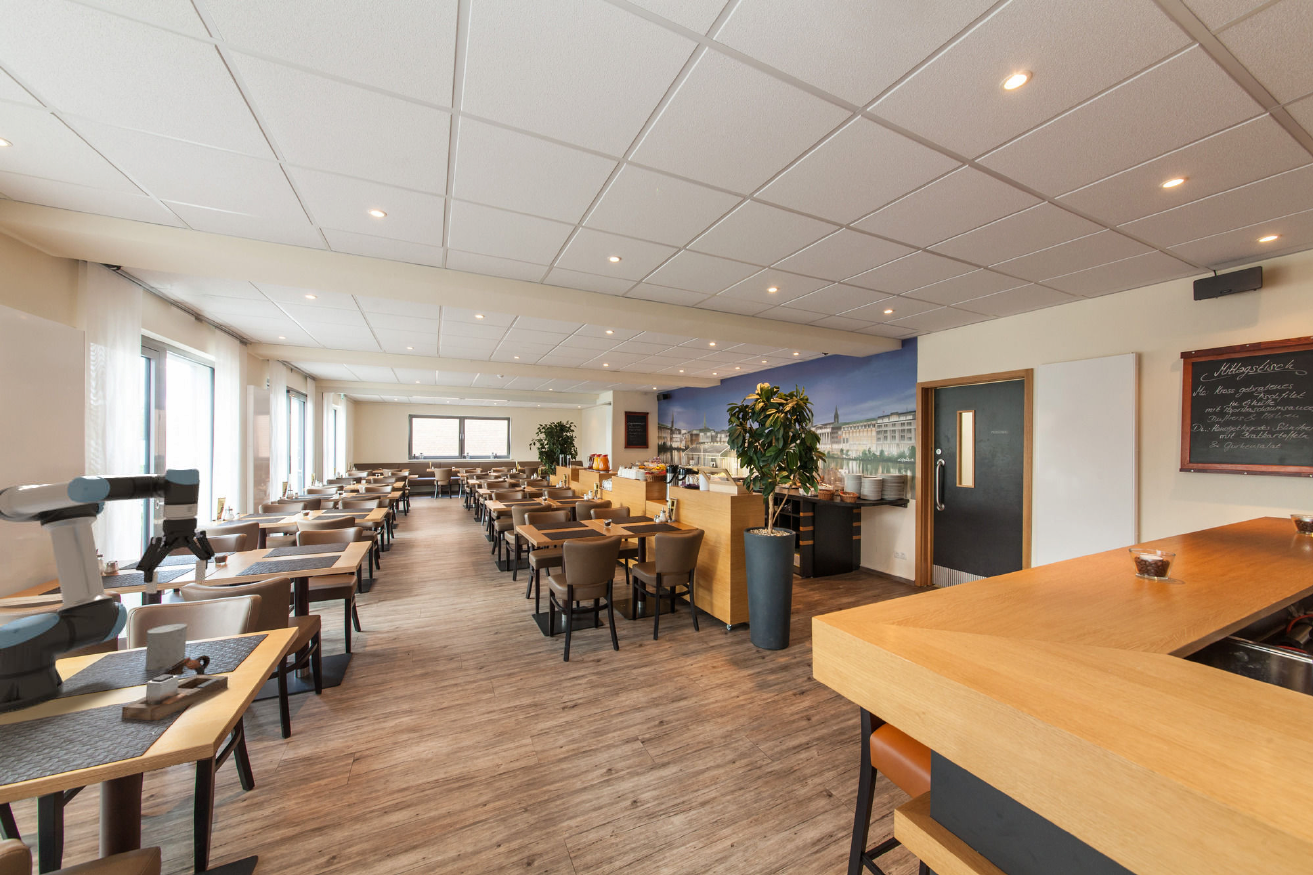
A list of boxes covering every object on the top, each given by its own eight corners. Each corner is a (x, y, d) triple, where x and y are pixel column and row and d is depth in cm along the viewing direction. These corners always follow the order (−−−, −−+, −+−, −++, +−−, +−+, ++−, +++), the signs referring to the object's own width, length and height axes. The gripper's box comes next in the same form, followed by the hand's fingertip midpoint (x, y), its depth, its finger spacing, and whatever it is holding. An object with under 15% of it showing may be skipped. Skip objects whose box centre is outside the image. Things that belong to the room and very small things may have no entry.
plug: (145, 712, 131) (146, 680, 131) (162, 704, 135) (164, 673, 136) (159, 713, 131) (161, 681, 131) (176, 705, 135) (178, 673, 135)
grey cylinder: (164, 670, 156) (166, 633, 156) (136, 670, 156) (138, 632, 157) (193, 658, 166) (195, 623, 166) (166, 657, 166) (168, 622, 166)
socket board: (121, 717, 128) (122, 705, 128) (195, 684, 147) (196, 673, 147) (157, 720, 127) (158, 707, 127) (227, 686, 146) (227, 675, 146)
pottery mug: (188, 690, 145) (171, 669, 143) (165, 701, 146) (148, 680, 144) (224, 663, 156) (209, 644, 155) (203, 674, 157) (187, 654, 156)
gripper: (143, 523, 132) (139, 599, 131) (231, 513, 157) (228, 576, 156) (120, 523, 133) (115, 598, 132) (211, 512, 158) (207, 575, 157)
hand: (176, 586), depth 144 cm, fingers open, 13 cm apart
